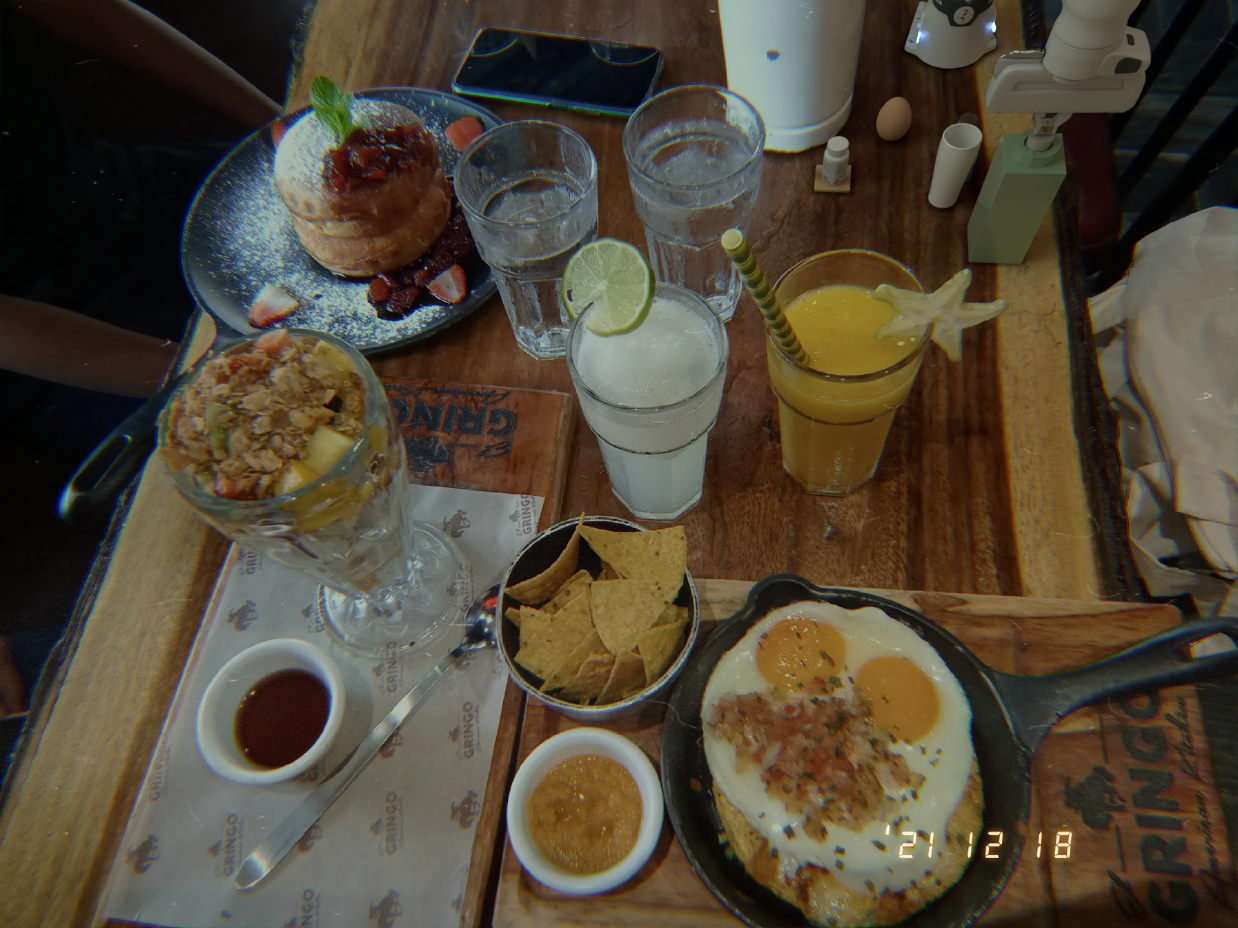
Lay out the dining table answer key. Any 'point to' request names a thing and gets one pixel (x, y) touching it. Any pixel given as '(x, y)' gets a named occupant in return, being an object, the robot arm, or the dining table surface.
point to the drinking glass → (953, 163)
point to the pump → (1039, 141)
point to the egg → (894, 119)
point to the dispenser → (1014, 199)
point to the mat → (824, 187)
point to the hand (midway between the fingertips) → (1043, 132)
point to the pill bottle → (835, 161)
